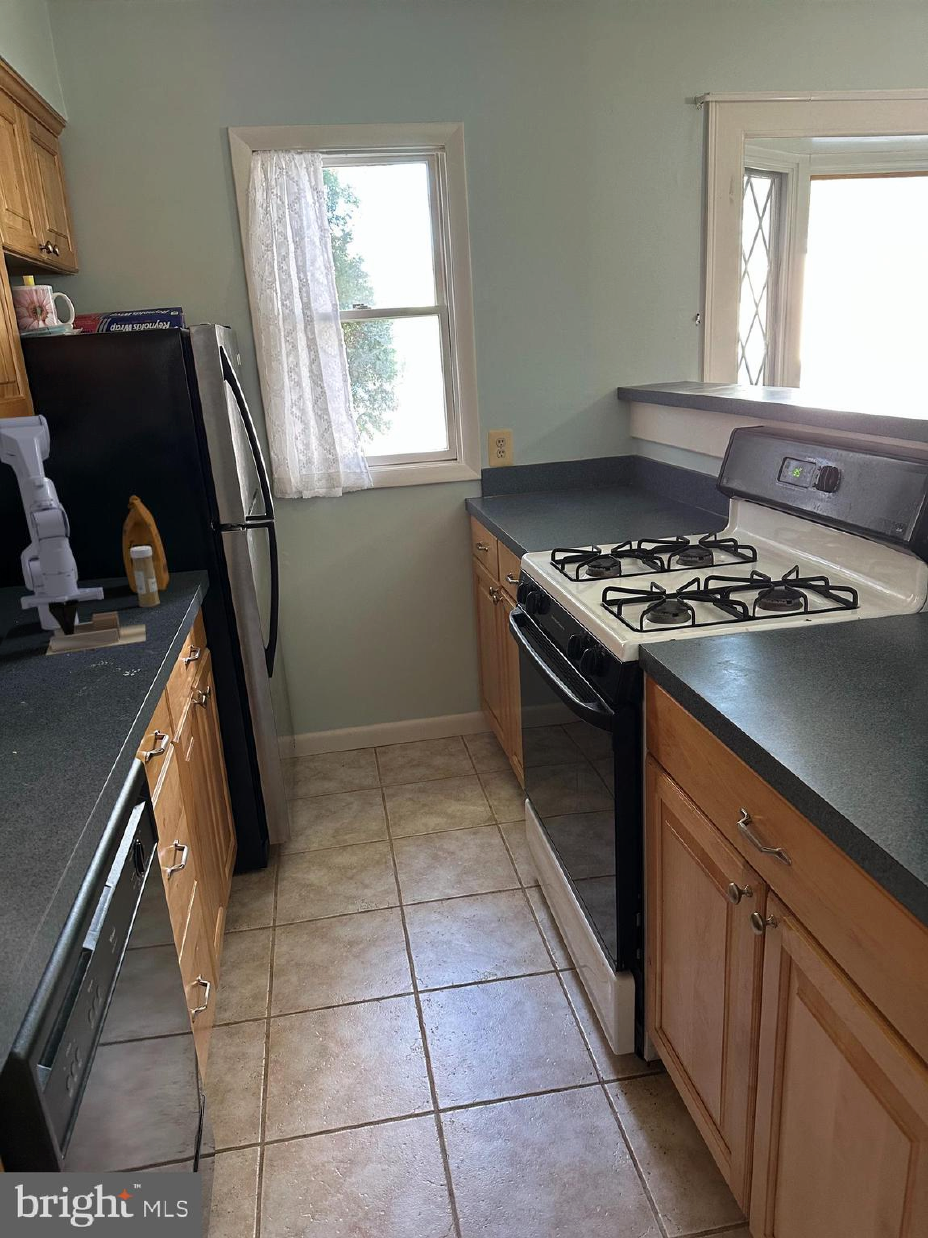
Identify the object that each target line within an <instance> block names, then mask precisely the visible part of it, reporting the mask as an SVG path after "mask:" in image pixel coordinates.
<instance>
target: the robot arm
mask: <svg viewBox="0 0 928 1238" xmlns="http://www.w3.org/2000/svg"><path fill="white" fill-rule="evenodd" d="M50 438H51V437H50V431H49V426H48V423H47V419H46V418H45V417H44V416H43V415H42V414H38V415H32V416H31V415H30V416H19V417H5V418H0V461H1V462H2V463H4V464H7V465H10V466H11V467H12V469H13V471H14V473H15V475H16V479H17V482H18V487H19V491H20V496H21V500H22V503H23V504H22V505H23V509H24V513H25V518H26V521H27V526H28V530H29V536H30V540H31V543H30V544H29V545H28V546H27V547H26V548H25V549H24V550H23V551H22V553H21V555H20V560H21V568H22V575H23V578H24V583H25V586H26V589H28V590H29V591H34V595H29V596H23V597H21V598H20V603H21V607H22V608H21V610H27V609H30V608H36V607H37V609H38V615H39V619H40V620H39V621H40V625H41V629H43V630H46V631H47V630H48V631H54V629H53V628H54V627H58V626H60V627H61V628H62V630H63V632H64V634H65V636H66V635H73V634H74V626H75V624H79V623H80V622H79V617H78V612H77V611H78V609H79V604H80V602H83V601H90V600H103V599H104V590H103V587H91V588H90V587H89V588H78V585H77V582H78V580H79V575H78V569H77V568H78V567H77V564H76V560H75V558H74V556H73V552H72V549H71V547H70V543H69V542H70V541H69V537H70V524H69V519H68V515H67V513H66V511H65V509H64V507H63V505H62V502H61V503H60V501H59V498H58V494H57V491H56V488H55V484H54V482H53V481H52V480H51V479H50V478H48V477H46V475H45V470H44V464H43V461H45V460H46V459H48V458H49V457H50V456H49V453H50V451H51V449H50V443H51V439H50Z"/></svg>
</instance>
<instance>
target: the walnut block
mask: <svg viewBox="0 0 928 1238" xmlns="http://www.w3.org/2000/svg"><path fill="white" fill-rule="evenodd" d="M91 620H92V621H91V622H92V623H93V628H94V632H95V631H102V630H109V629H117V633H118V638H119V639H120V635H121V632H120V628H121V627H120V621H119V615H118V611H110V612H103V613H94V614H92V617H91Z"/></svg>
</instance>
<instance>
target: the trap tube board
mask: <svg viewBox="0 0 928 1238" xmlns="http://www.w3.org/2000/svg"><path fill="white" fill-rule="evenodd" d="M53 629H54V630H53V633H54V636H51V637H50V638H49V641H50V642H49V644H48V647H47V651H46V654H45V656H51V655H58V654H66V653H71V652H72V653H73V652H78V651H85V650H86V651H87V650H91V649H93V650H94V649H99V648H100V649H101V648H106V647H107V648H108V647H113V646H120V645H126V644H134V643H135V644H136V643H140V642H146V640H147V638H146V635H147V634H146V624H145V623H144V624H136V625H130V626H129V625H128V626H122V627H120V632H121V635H120V639H119V638H118V633H117V629H109V630H102V631H95V632H94V628H93V623H92V621H89V622H88V621H87V622H81V623H80V622H79V623H78V624H75V626H74V634H73V635H66V636H65V634H64V632H63V630H62V628H61V627H60V626H58V627H54V628H53Z"/></svg>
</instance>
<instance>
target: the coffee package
mask: <svg viewBox="0 0 928 1238" xmlns="http://www.w3.org/2000/svg"><path fill="white" fill-rule="evenodd" d="M128 501H129V503H128V504H127V508H128V509H130V512H129V514H127V517H126V519H125V522H124V525H123V529H122V530H123V531H122V558H123V562H124V567H125V572H126V575H127V579H128V580H127V581H128V583H129V588H130V589H131V590H132V592H133V593H135V594H138V592H137V586H136V581H135V575H134V567H133V560H132V557H131V554H130V549H132V548H134V547H139V546H150V547H151V549H152V561H153V567H154V572H155V578H156V584H157V591H165V589H166V587H167V585H168V584H169V580H170V577H169V570H168V565H167V560H166V555H165V551H164V547H163V543H162V540H161V536H160V533H159V531H158V529H157V526H156V523H155V519H154V517H153V515H152V514H151V512H150V510H149V509H147V507H145V505H144V503H142V502H141V499H140V497H137V495H132V496H130V497H129V500H128Z"/></svg>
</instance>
